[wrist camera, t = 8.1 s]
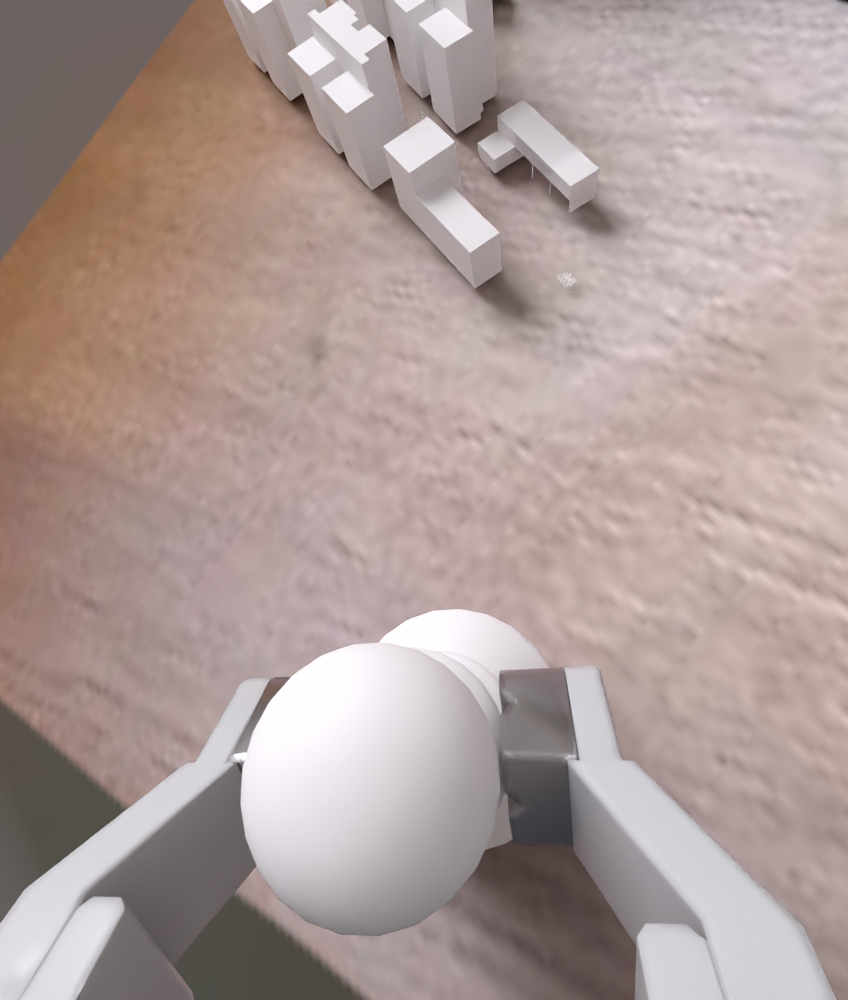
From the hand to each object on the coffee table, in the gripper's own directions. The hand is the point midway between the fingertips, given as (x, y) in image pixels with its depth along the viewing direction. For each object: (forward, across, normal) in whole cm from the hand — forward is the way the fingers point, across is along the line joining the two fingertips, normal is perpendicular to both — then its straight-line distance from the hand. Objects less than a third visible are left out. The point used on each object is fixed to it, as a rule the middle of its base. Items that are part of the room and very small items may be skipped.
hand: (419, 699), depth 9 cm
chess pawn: (+3, 0, +4) cm, 5 cm away
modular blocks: (+19, +1, -12) cm, 22 cm away
